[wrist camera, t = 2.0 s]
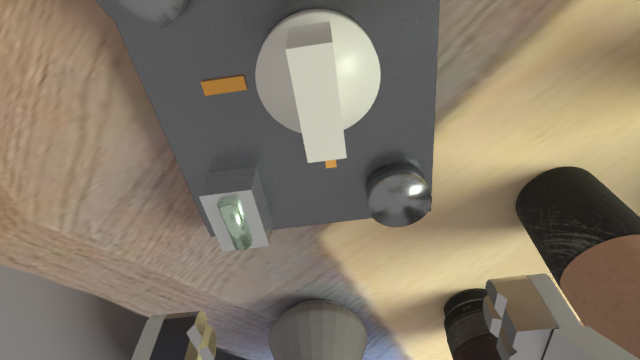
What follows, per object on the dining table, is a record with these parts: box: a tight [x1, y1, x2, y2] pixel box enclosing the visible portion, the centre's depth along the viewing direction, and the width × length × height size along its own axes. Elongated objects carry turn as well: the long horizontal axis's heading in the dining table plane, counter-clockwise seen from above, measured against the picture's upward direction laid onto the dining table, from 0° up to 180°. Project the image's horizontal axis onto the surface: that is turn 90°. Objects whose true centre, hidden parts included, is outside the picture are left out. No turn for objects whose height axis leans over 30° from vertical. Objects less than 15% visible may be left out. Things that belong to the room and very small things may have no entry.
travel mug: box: [516, 167, 640, 359], centre depth 27 cm, size 8×8×20 cm
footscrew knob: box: [255, 9, 381, 168], centre depth 24 cm, size 11×8×6 cm
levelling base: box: [96, 0, 440, 251], centre depth 26 cm, size 24×20×6 cm
